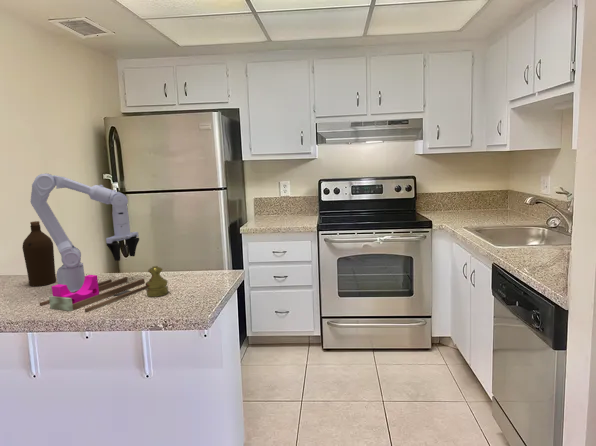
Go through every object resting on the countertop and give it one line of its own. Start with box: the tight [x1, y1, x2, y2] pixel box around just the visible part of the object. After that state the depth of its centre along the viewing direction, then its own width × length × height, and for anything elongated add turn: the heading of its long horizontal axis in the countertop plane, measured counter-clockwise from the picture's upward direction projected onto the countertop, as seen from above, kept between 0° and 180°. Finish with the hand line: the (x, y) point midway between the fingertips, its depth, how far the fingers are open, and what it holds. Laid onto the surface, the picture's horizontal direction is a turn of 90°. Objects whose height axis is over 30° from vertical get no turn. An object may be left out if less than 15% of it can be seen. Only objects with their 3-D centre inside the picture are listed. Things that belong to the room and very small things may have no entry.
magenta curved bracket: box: [51, 274, 100, 304], centre depth 154 cm, size 15×6×8 cm, turn 156°
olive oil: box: [22, 220, 57, 287], centre depth 180 cm, size 11×11×25 cm
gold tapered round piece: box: [145, 265, 169, 298], centre depth 158 cm, size 7×7×10 cm
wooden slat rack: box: [39, 276, 147, 313], centre depth 161 cm, size 22×33×4 cm
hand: (125, 258), depth 176 cm, fingers open, 7 cm apart
